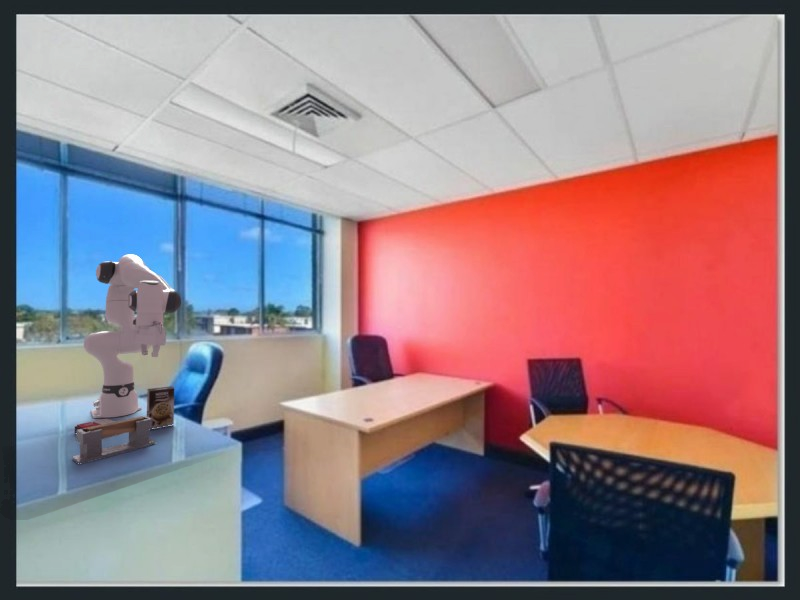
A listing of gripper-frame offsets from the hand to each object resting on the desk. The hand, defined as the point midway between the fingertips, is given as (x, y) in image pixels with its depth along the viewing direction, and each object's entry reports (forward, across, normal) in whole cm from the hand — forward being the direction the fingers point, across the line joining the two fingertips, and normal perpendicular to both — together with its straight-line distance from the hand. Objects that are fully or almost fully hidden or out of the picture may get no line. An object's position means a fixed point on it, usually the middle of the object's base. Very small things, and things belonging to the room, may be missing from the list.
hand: (149, 355), depth 149 cm
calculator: (+32, +19, +11) cm, 38 cm away
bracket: (+31, -10, +14) cm, 36 cm away
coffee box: (+31, +7, -7) cm, 33 cm away
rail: (+25, -10, +14) cm, 30 cm away
